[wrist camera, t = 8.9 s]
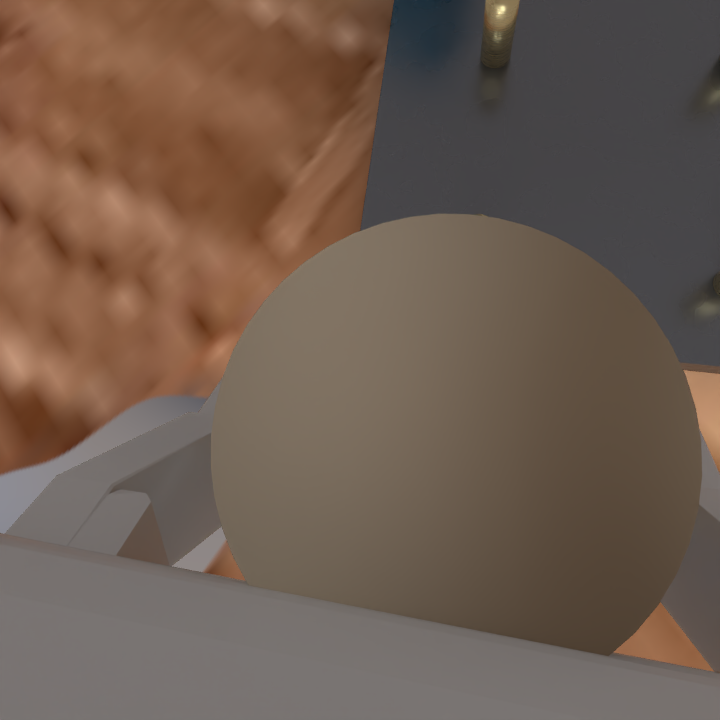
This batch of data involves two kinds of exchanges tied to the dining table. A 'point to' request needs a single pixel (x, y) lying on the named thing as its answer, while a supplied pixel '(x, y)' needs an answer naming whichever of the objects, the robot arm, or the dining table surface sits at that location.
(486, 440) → the birch post
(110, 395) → the dining table surface
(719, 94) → the pin plate
